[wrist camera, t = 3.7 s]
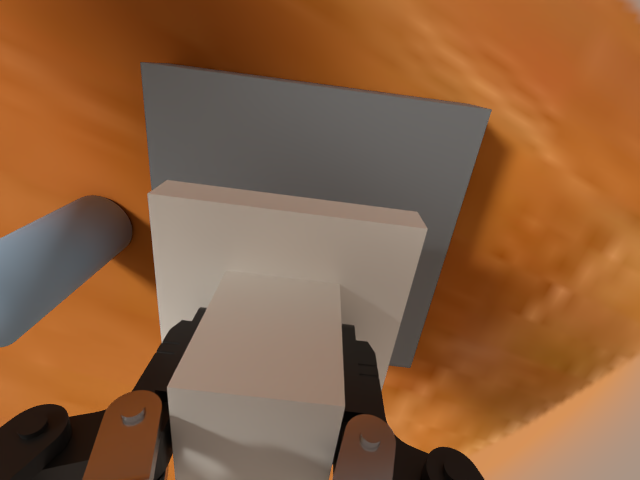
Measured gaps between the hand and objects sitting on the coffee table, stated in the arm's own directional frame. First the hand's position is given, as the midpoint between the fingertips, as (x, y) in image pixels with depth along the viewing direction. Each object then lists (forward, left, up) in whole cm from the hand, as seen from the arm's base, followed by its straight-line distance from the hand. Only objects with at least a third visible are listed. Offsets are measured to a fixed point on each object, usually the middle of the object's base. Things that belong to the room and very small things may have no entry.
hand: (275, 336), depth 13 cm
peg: (-13, -2, -11) cm, 17 cm away
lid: (0, 0, -2) cm, 2 cm away
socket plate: (0, 0, -11) cm, 11 cm away
